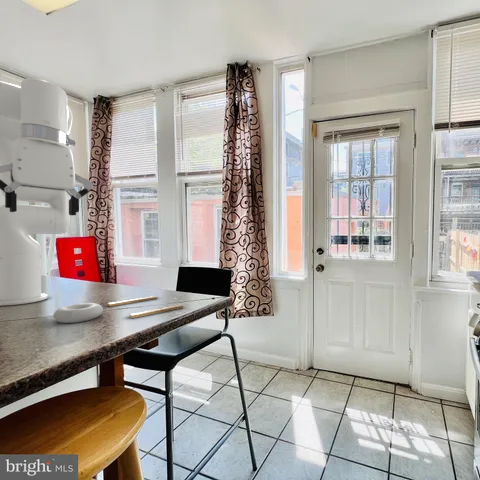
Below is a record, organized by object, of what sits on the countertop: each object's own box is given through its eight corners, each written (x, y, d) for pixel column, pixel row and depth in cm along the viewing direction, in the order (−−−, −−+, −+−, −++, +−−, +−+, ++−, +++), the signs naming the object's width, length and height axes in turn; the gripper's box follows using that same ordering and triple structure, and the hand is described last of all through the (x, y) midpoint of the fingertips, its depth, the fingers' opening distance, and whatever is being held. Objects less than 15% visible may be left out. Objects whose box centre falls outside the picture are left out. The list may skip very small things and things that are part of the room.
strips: (107, 305, 86) (107, 303, 86) (154, 297, 98) (154, 295, 97) (132, 318, 74) (132, 315, 74) (182, 308, 86) (183, 305, 86)
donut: (101, 311, 80) (54, 317, 73) (101, 300, 80) (54, 304, 73) (104, 320, 73) (51, 327, 66) (104, 307, 73) (52, 313, 66)
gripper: (88, 151, 71) (87, 216, 71) (-17, 129, 57) (-17, 211, 57) (97, 146, 67) (97, 215, 67) (-14, 121, 53) (-14, 209, 53)
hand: (44, 213), depth 62 cm, fingers open, 9 cm apart
